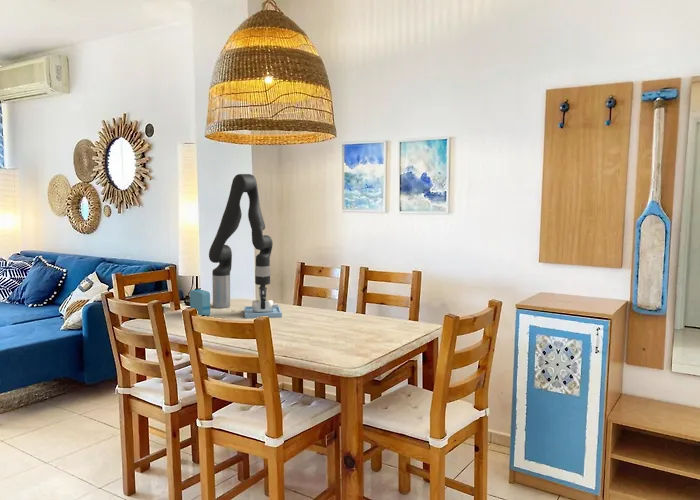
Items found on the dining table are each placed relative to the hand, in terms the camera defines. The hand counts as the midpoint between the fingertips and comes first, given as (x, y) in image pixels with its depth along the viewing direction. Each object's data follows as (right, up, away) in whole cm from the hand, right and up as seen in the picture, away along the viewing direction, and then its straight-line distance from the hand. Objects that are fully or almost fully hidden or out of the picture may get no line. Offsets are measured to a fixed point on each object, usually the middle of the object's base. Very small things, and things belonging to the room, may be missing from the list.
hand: (262, 307), depth 276 cm
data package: (-31, -3, -3) cm, 31 cm away
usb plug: (+1, -1, 0) cm, 2 cm away
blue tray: (0, -3, 0) cm, 3 cm away
